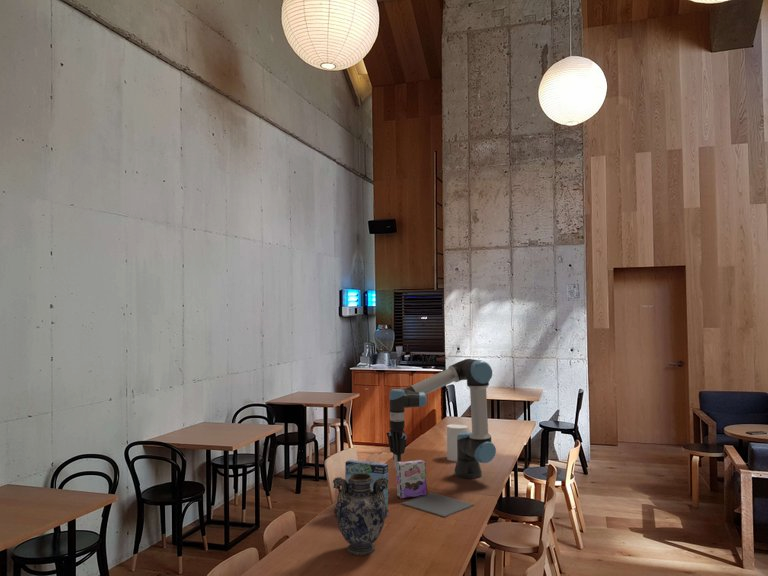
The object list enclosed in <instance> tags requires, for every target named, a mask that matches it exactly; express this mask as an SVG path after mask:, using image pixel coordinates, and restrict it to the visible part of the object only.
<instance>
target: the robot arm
mask: <svg viewBox="0 0 768 576" xmlns="http://www.w3.org/2000/svg"><path fill="white" fill-rule="evenodd" d="M492 377H493V369H492V366H491V365H490V364H489V363H488V362H486V361H484V360H482V359H472V358H466V359H462V360H460V361H457V362H455V363H453V364H452V365H450V366H448V368H446V369H445V370H442V371H440V372H438V373H436V374H433V375H432V376H429V377H427V378H425V379H423V380H421V381H419V382H416V383H415V384H413V385H410V386H407V387H405V388H403V387H402V388H393V389H391V390H389V396H388V397H389V398H388V399H389V420H390V421H389V428H390V430H389V431H388V432H386V436H387V439H388V440H387V441H388V446H389V452H390V453H392V455H393V462H394V465H393V468H395V469H396V462H402V454H404V453H405V450H406V446H407V445H406V444H407V440H408V438H409V436H408V435H406V434H405V431H404V429H405V428H406V427H405V410H406V409H407V408H408V409H409V408H410V409H411V408H421V407H422V408H423V407H425V406H426V405H427V402H428V401H427V400H428V397H427V395H428V394H430V393H432V392H435V391H436V390H439V389H441V388H443V387H445V386H447V385H450V384H451V383H458V382H460V381H466V386H467V387H468V388H469V393H470V395H469V396H470V398H469V399H470V413H471V414H470V417H471V419H470V420H471V432H469V433H460V434H458V436H457V461H456V463H455V468H454V470H453V472H454V476H455V477H457V478H461V479H478V478H481V477H482V475H483V471H482V468H481V465H480V463H481V464H487V463H488V464H489V463H490V462H491V461H493V459H494V458H495V456H496V452H497V449H496V445H495V444H494V443H493V442H492V435H491V434H490V433H489V424H488V423H489V422H488V403H487V401H488V400H487V397H488V396H487V388H488V387H489V386H490V382H491V379H492ZM405 408H406V409H405Z"/></svg>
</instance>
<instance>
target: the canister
mask: <svg viewBox="0 0 768 576" xmlns="http://www.w3.org/2000/svg"><path fill="white" fill-rule="evenodd" d="M469 427H470V426H469V425H468V424H463V423H451V424H448V425H446V460H447V461H450V460H451V462H457V436H458V434H460V433H470V428H469Z"/></svg>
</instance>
